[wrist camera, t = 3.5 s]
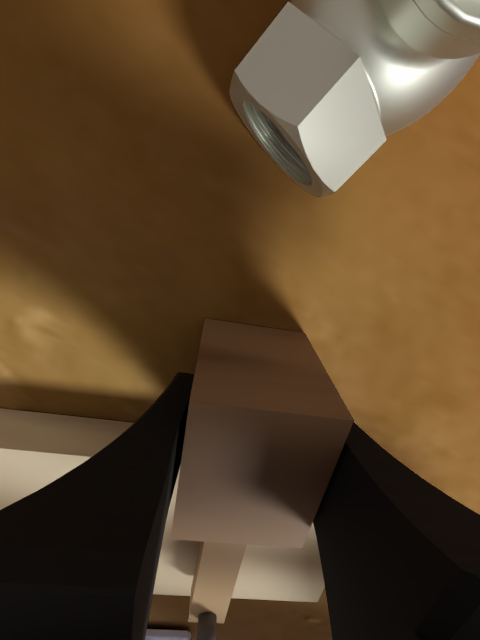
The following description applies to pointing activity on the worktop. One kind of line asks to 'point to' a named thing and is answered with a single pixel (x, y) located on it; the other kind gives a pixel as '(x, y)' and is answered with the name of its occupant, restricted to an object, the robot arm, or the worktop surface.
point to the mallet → (252, 454)
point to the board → (176, 555)
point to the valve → (349, 79)
